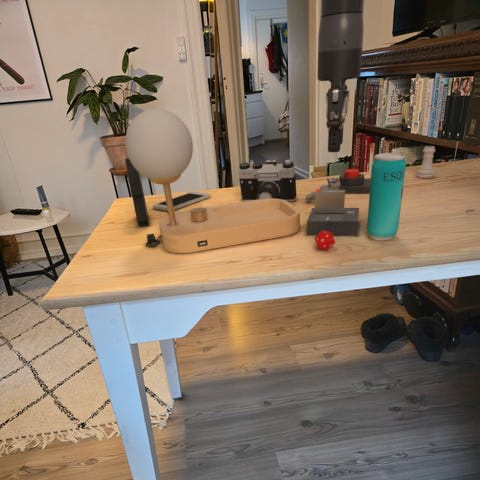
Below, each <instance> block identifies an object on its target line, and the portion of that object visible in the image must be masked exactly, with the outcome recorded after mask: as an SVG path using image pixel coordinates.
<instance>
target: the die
mask: <svg viewBox="0 0 480 480" xmlns="http://www.w3.org/2000/svg"><path fill="white" fill-rule="evenodd" d="M313 239H314V242H315V245H316V248H317V249H318V250H322V251H326V252H327V251H328V250H329V249H331V248H332V247H333V246H334V245H335V244H336V240H335V237H334V235H333V234H332V232H329V231H325V230H322V231H321V232H320V233H319V234H318V235H315V236H314V238H313Z"/></svg>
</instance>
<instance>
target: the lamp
mask: <svg viewBox="0 0 480 480" xmlns="http://www.w3.org/2000/svg"><path fill="white" fill-rule="evenodd" d="M124 144H125V152H126V154H127V158H129V160H130V162H131V163H132V165H133V166H134V168H135V169H136V170H137V171H138V172H139V173H140V175H142V176H144V177H145V178H147V179H148V181H150V182H152V183H153V184H156V185H162V187H163V192H164V198H165V201H166V205H167V210H168V211H167V214H165V215H163V216H162V217H161V218H159V219H158V223H157V224H158V226H159V228H158V229H159V234H160V235H159V236H158V237H157V238H156V235H155V234H154V233H149V234H146V240H147V242H146V244H145V246H146V247H148V248H156V247H157V246H158V245H159V244H161V242H162V244H163V248H164V250H166V251H167V252H170V253H175V254H191V253H197V252H203V251H209V250H214V249H220V248H226V247H233V246H237V245H242V244H243V245H244V244H250V243H255V242H260V241H267V240H272V239H277V238H283V237H288V236H291V235H294V234H296V233H298V232H299V230H300V229H301V211H300V209H299V208H298V207H296V206H295V205H294V204H292V203H290V201H285V200H282V199H273V198H269V199H258V200H251V201H240V202H239V201H238V202H233V203H226V204H221V205H220V204H219V205H214V206H213V205H212V206H206V207H202V206H201V207H193V208H191V209H188V210H182V211H176V212H175V210H174V207H173V201H172V199H173V197H172V195H173V194H172V189H171V184H173V183H175V182H177V181H178V180H179V179H180V178H181V177H182V174H183V173H184V172H185V171H186V170H187V168H188V167H189V166H190V163H191V160H192V159H193V152H194V143H193V138H192V134H191V132H190V129H189V127H188V126H187V125H186V123H185V122H184V121H183V119H181V118H180V117H179V116H178V115H176V114H174V113H173V112H171V111H169V110H166V109H161V108H151V109H148V110H144V111H143V112H140V113H139V114H138V115H137V116H136V117H134V118H133V119H132V121H131V122H130V123H129V126H128V128H127V129H126V134H125V143H124ZM159 238H161V240H159Z"/></svg>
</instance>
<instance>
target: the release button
mask: <svg viewBox="0 0 480 480" xmlns="http://www.w3.org/2000/svg"><path fill="white" fill-rule="evenodd" d="M359 173H360V169H357V168H349V169H345V171H344V174H345V177H348V178H354V177H359Z"/></svg>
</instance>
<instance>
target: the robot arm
mask: <svg viewBox="0 0 480 480" xmlns="http://www.w3.org/2000/svg"><path fill="white" fill-rule="evenodd" d="M364 9H365V0H320V9H319V11H320V13H319V14H320V15H319V16H320V17H319V27H318V37H317V72H316V73H317V77H316V79H317V80H318V81H319V82H329V83H330V88H328V91H327V92H326V93H325V104H326V110H325V118H326V123H325V124H326V125H325V126H326V129H327V131H328V132H327V133H328V134H327V135H328V137H327V151H328V153H339V152H340V151H341V145H342V144H343V142H344V126H345V122H346V117H347V114H348V108H349V106H348V105H349V101H350V90H348V85H347V84H346V82H347V80H354V79H358V78H360V77H361V74H362V73H361V72H362V61H363V60H362V59H363V46H364V45H363V44H364V31H365V29H364V27H365V26H364Z"/></svg>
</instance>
